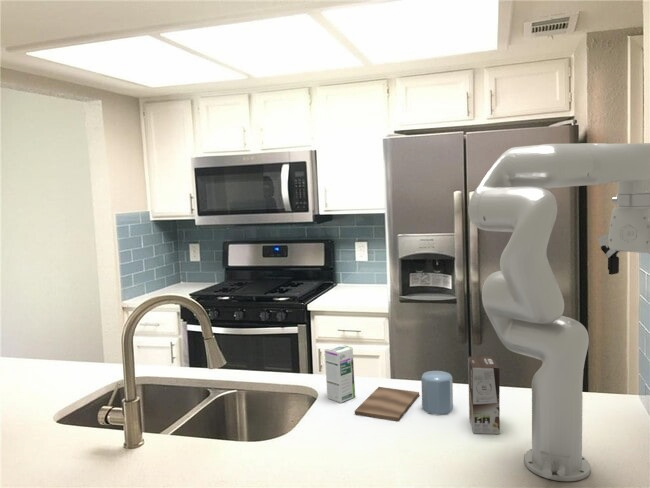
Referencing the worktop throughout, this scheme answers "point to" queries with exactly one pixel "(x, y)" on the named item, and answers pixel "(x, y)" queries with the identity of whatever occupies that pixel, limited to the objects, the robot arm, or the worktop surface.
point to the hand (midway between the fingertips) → (634, 276)
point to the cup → (437, 392)
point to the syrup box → (340, 373)
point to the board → (387, 403)
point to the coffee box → (484, 394)
